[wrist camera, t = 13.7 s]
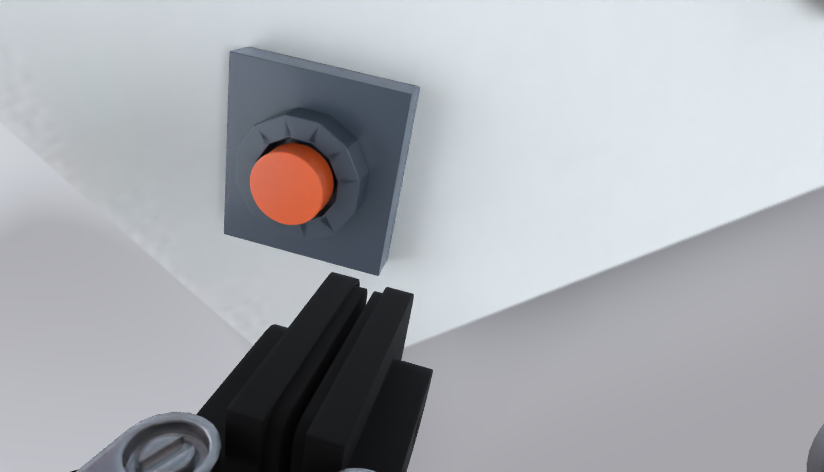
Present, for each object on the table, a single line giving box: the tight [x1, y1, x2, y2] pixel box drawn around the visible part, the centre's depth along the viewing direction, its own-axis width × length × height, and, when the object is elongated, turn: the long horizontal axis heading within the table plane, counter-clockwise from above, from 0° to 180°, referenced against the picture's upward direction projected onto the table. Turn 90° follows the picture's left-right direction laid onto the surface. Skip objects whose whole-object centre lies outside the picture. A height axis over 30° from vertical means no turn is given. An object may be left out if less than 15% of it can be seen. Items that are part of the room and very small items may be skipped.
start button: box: [250, 143, 334, 225], centre depth 29 cm, size 4×4×2 cm
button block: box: [224, 47, 420, 276], centre depth 31 cm, size 11×10×4 cm
